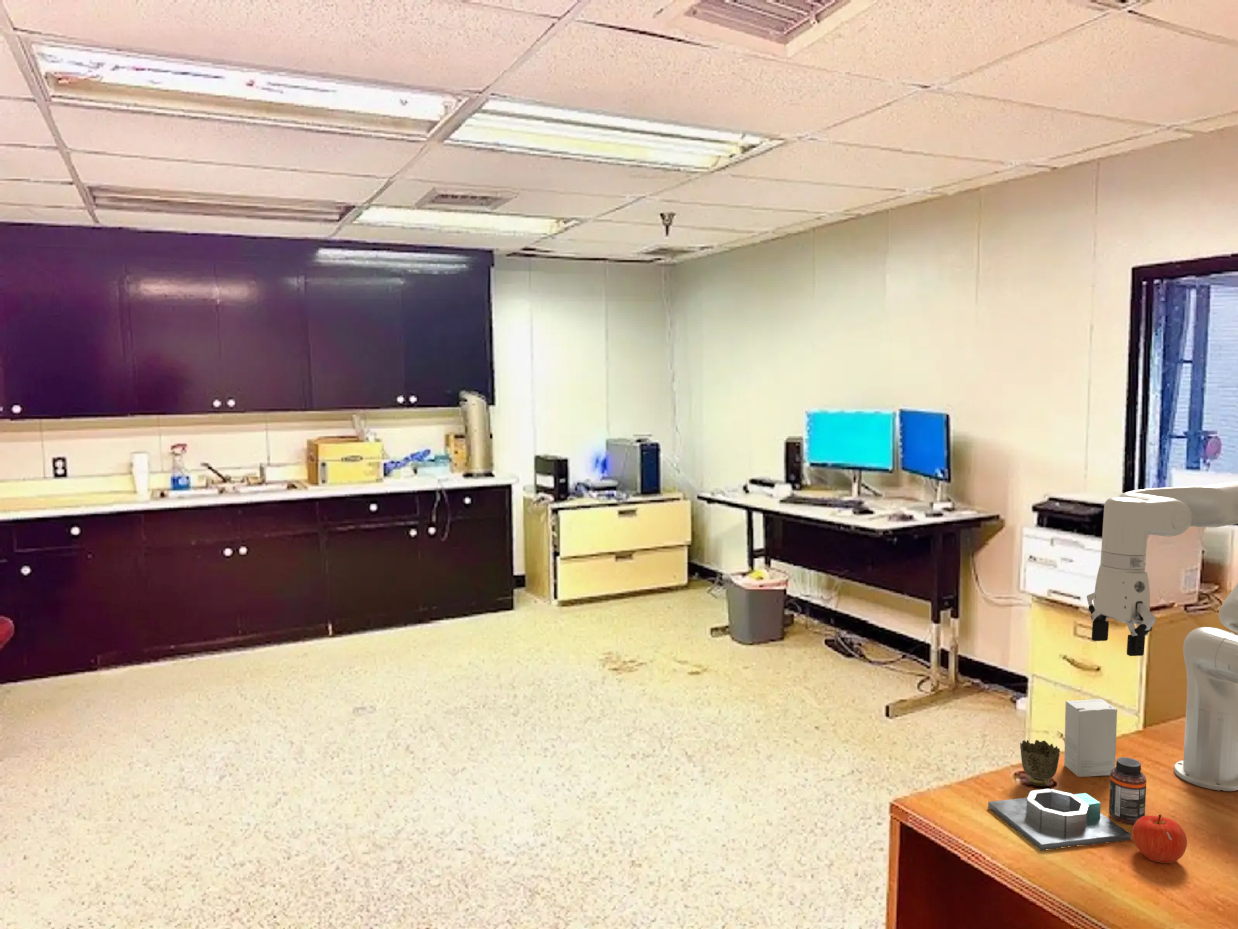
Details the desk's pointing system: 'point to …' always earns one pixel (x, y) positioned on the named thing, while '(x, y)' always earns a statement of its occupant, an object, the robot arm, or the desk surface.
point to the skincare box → (1090, 737)
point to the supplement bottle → (1127, 791)
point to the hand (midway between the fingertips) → (1116, 647)
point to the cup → (1039, 761)
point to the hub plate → (1052, 835)
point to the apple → (1159, 838)
